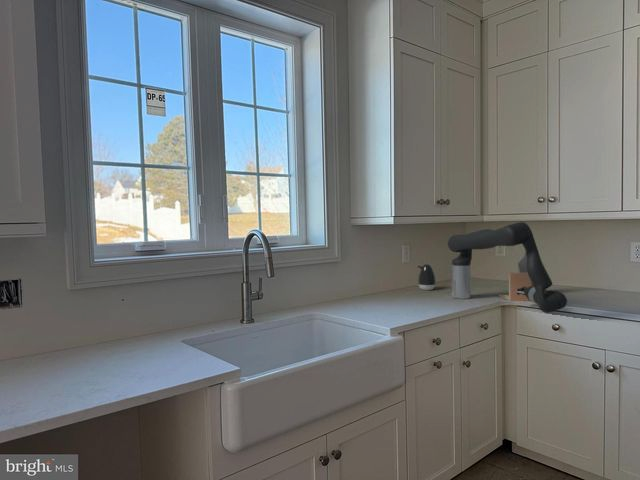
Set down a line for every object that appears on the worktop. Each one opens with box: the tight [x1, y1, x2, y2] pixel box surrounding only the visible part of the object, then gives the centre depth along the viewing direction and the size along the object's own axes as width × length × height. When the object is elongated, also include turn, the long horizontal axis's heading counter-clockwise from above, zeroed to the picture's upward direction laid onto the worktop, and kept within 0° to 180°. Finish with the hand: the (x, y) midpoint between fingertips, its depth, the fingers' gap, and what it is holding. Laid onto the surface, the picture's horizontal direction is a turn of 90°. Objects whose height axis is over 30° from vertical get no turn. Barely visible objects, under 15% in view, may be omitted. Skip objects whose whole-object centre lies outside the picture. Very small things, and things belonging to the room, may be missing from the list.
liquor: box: [517, 249, 533, 286], centre depth 237 cm, size 9×9×30 cm
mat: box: [497, 294, 510, 301], centre depth 226 cm, size 14×12×1 cm
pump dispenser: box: [417, 263, 437, 291], centre depth 257 cm, size 10×10×15 cm
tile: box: [508, 272, 531, 302], centre depth 218 cm, size 10×2×14 cm, turn 83°
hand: (524, 288), depth 211 cm, fingers closed
